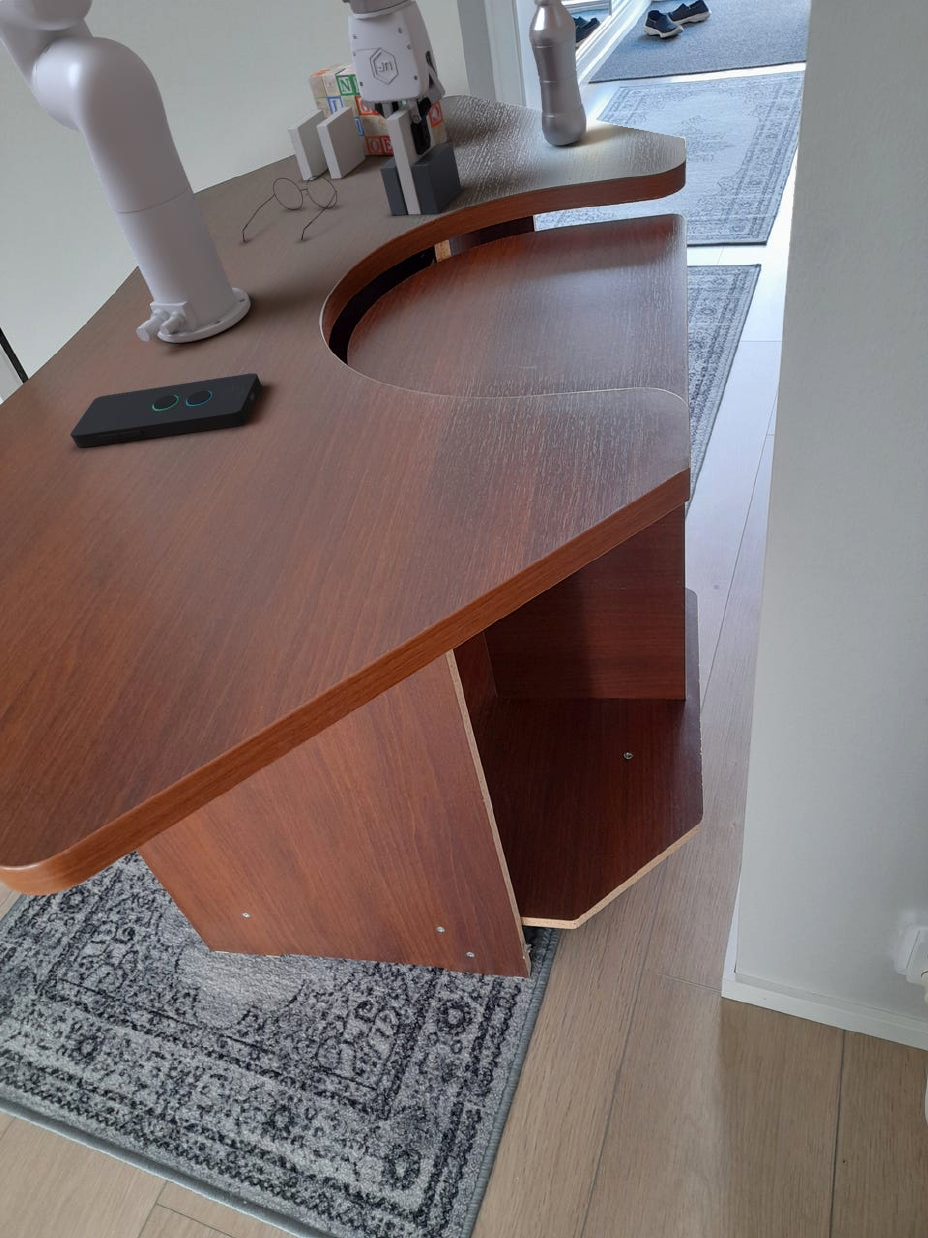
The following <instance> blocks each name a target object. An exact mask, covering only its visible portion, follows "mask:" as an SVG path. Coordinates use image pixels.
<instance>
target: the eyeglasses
mask: <svg viewBox="0 0 928 1238" xmlns="http://www.w3.org/2000/svg"><path fill="white" fill-rule="evenodd" d="M312 177H315V176H312ZM312 177H310V178H312ZM318 177H319V178H322V179H324V180H325V181H327V182H328V183H329V184H330V185H331V186H332V188H333V190H334V194H333V195H332V198H331V200H329V201H330V202H329V203H328V204H327V205H326V206H325V207H324V206H322V205H320V204H318V203H317V202H315V201H314V200H313V198H312V197H311V195H310V193H309V190H308V188H302V189H300V188H299V186H298V185H297V184H296V183H295V182H294V181H292V180H290V179H289V178H286V177H279V178H277V179H276V180H275V181H274V182H273V185H272V189H273V195H272V196H271V197H270V198H269V199H268V200H266V201H265V202H264V203H263V204H262V205H261V206H260V207H259V208H258V209H257V210H256V212H255V213H254V214H253V215H252V217H251V218H250V219H249V221H248V222H247V223H246V224H245V226H244V228H243V229H242V241H243V242H244V243H246V240H245V239H246V238H245V232H244V231H245V230H246V228H247V227H248V225H249V224H250V222H251V221H252V220H253V218H254V217H255V216H256V215H257V213H258V212H259V210H261V209H262V207H264V205H265V204H267V203H268V202H269V201H270V200H272V198H273V197H274V196H275V199H276V200H277V202H279V203H281V201H280V200H279V199H278V197H277V195H276V192H275V185H276V182H277V181H278V180H282V179H283V180H287V181H290V182H291V183H292V184H294V186H295V187H296V188H297V189H298V190H299V192H300V196H301V198H302V199H301V200H302V202H301V205H300V206H299V207H298V208H295V209H294V208H289V207H287V206H286V205H284V204H283V203H281V205H282V206H283V207H284V208H285V209H288V210H291V211H298V210H299V209H300V208H302V206H303V204H304V197H303V193H302V191H307V193H305V196H309V198H310V199H311V201H312V202H313V204H316V205H317V206H318V207H320V208H322V210H321V211H320V213H319V214H317V215H316V216H315V218H313V219H312V220H311V221H310V222H309V223H308V224H307V225H306V226H305V227H304V228H303V231H302V233H301V238H300V240H301V241H303V239H304V234H305V230H306V229H307V228H308V227H309V226H310V225H312V224H313V222H314V221H315V220H316V219H318V217H319V216H320V215H321V214H322V213H323V212H324V211H325V210H326V209H328V208H329V209H332V208H334V207H335V206H336V204H337V202H338V191H337V190H336V188H335V187H334V185H333V184H332V183H331V181H329V179H328V178H325V177H324V176H322V175H319V176H318ZM318 177H317V178H318ZM310 178H309V179H310ZM309 179H308V180H306V184H308V183H309V181H310V180H309ZM335 195H336V200H335V203H334V204H333V206H330V204H331V203H332V201H333V199H334V197H335ZM329 206H330V207H329Z"/></svg>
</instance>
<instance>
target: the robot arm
mask: <svg viewBox="0 0 928 1238" xmlns="http://www.w3.org/2000/svg"><path fill="white" fill-rule="evenodd" d="M341 2H342V3H344V4H347V3H348V4H349V5H350V10H351V11H352V13H351V14H349V16H348V17H347V19H348V20H347V21H348V23H347V25H348V36H349V37H348V38H349V43H350V44H349V45H350V52H351V58H352V59H351V60H352V63H353V65H354V70H355V75H356V79H357V84H358V88H359V92H360V95H361V97H362V104H363V105H364V106H365V107H367V108H370V109H372V110H376V111H377V112H378V113H379V114H380V115H381V116H382V117H383V118H385V120H386V119H387V118H389V117H390V116H391V115H392V114H393V113H395V112H396V111H397V110H398V109H400V108H401V105H400V101H403V100H408V103H409V107H410V111H411V116H412V120H413V123H412V124H411V131H412V136H413V140H414V145H415V149H416V153H417V154H418V155H422V154H424V153H425V152H426V151H427V150H428V149H429V148H430V146H431V144H430V143H431V137H430V132H429V128H428V123H427V119H426V116H427V115H428V114H429V111H430V109H431V107H432V105H433V104H434V103H436V102H437V101H438V100H439V101H440V100H441V99H443V97H445V96H446V89H445V88H444V85H443V84H442V83H441V80H440V79H439V75H438V69H437V64H436V58H435V54H434V50H433V47H432V43H431V39H430V36H429V32H428V29H427V26H426V23H425V21H424V17H423V15H422V12H421V10H420V7H419V5H418V3H417V1H416V0H341ZM92 5H93V0H0V42H1V44H2V46H3V47H4V49H5V51H6V53H7V54H8V56H9V57H10V59H11V61H12V62H13V64H14V65H15V67H16V69H17V71H18V72H19V74H20V75H21V77H22V79H23V81H24V82H25V84H26V86H27V88H28V89H29V90H30V92H31V93H32V95H33V96H34V98H35V99H36V101H37V102H38V104H39V105H40V107H41V108H42V109H43V110H44V111H45V112H46V113H47V114H48V115H49V117H51V118H52V119H53V120H54V121H56V122H57V123H59V124H60V125H62V126H63V127H65V128H68V129H70V130H73V131H75V132H79V133H81V134H82V136H83V138H84V142H85V143H86V147H87V149H88V150H87V151H88V153H89V156H90V160H91V163H92V165H93V169H94V171H95V172H94V173H95V175H96V176H97V179H98V182H99V185H100V186H101V189H102V191H103V195H104V196H105V198H106V200H107V202H108V204H109V207H110V209H111V211H112V212H113V215H114V217H115V219H116V221H117V223H118V225H119V228H120V230H121V232H122V234H123V235H124V238H125V240H126V242H127V245H128V247H129V248H130V251H131V252H132V255H133V257H134V259H135V261H136V264H137V266H138V268H139V270H140V272H141V274H142V276H143V278H144V281H145V283H146V285H147V287H148V289H149V291H150V293H151V296H152V298H153V301H152V302H151V303H150V304H149V306H150V309H151V311H152V312H151V314H150V317H149V319H148V320H146V321H145V322H143V323H142V324H141V325H140V326H138V327H137V328H136V335H137V337H138V338H139V340H140V341H143V343H148V342H150V341H152V340H153V339H154V338H155V337H156V336H157V337H158V338H159V339H160V340H162V341H164V342H167V343H173V344H176V343H177V344H178V343H179V344H180V343H181V344H182V343H190V342H195V341H200V340H203V339H206V338H209V337H212V336H214V335H217V334H219V333H221V332H223V331H226V330H227V329H229V328H231V327H233V326H235V325H236V324H237V323H238V322H240V321H241V320H242V319H243V318H245V316H246V315H247V313H248V312H249V310H250V308H251V301H250V297H249V294H248V293H247V292H246V291H245V290H243V289H241V288H237V287H232V285H231V283H230V280H229V277H228V275H227V273H226V271H225V268H224V265H223V263H222V260H221V258H220V255H219V252H218V250H217V248H216V245H215V243H214V240H213V238H212V235H211V232H210V230H209V227H208V225H207V223H206V220H205V218H204V215H203V213H202V211H201V208H200V206H199V203H198V201H197V197H196V196H195V193H194V190H193V188H192V185H191V183H190V181H189V179H188V176H187V173H186V171H185V169H184V165H183V163H182V160H181V158H180V156H179V153H178V150H177V146H176V145H175V141H174V138H173V135H172V132H171V128H170V124H169V121H168V116H167V112H166V109H165V105H164V101H163V97H162V95H161V91H160V89H159V86H158V83H157V81H156V79H155V77H154V75H153V73H152V71H151V70H150V68H149V66H148V65H147V64H146V63H145V62H144V60H143V59H142V58H141V57H140V56H139V55H138V54H137V53H136V52H134V51H133V50H132V49H131V48H129V47H128V46H127V45H125V44H123V43H121V42H119V41H117V40H114V39H111V38H107V37H100V36H93V34H92V31H91V29H90V28H89V27H88V24H87V22H86V21H85V18H86V17H87V16H88V14H89V13H90V10H91V8H92ZM428 89H429V90H430V94H429V95H427V96H425V93H426V91H427V90H428Z"/></svg>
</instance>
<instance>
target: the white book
mask: <svg viewBox="0 0 928 1238" xmlns="http://www.w3.org/2000/svg"><path fill="white" fill-rule="evenodd" d="M426 119H427V123H428V128H429V132H430V137H431V143H430V144H431V146H430V148H429V149H428V150H427V151H426V152H425V153H424V154H422V155H418V154H417V153H416V149H415V145H414V140H413V136H412V131H411V124H412V123H413V120H412V116H411V111H410V107H409V103H408V102H407V103H406V104H405V105H403V106H402V107H401V108H400V109H398V110H397V111H396V112H395V113H393V114H392V115H391V116H390V117H389V118H387V119H386V123H387V127H388V131H389V135H390V140H391V144H392V148H393V152H394V155H393V156H395V160H396V164H397V168H398V172H399V176H400V181H401V185H402V189H403V193H404V197H405V201H406V205H407V209H408V213H407V214H408V215H412V216H413V215H422V214H423V210H422V206H421V202H420V197H419V193H418V189H417V184H416V180H415V176H414V172H413V167H412V166H413V165H414V164H415V163H416V162H417V161H419V160H420V159H421V158H422V157H423V156H424V155H425V154H426V153H427V152H428V151H430V150H431V149H432V148H433V147H434V146H435V143H434V138H433V134H432V129H431V124H430V120H429V115H427V116H426Z"/></svg>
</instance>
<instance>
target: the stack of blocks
mask: <svg viewBox="0 0 928 1238" xmlns="http://www.w3.org/2000/svg"><path fill="white" fill-rule="evenodd" d="M307 79H308V83H309V86H310V89H311V92H312V95H313V100H314V103H315V107H316V110H323V112H324V116H325V119H327V118H328V117H329V116H331V115H332V114H333V113H335V112H336V111H338V110H339V109H340V108H342V107H352V110H353V114H354V118H355V122H356V125H357V129H358V133H359V137H360V140H361V144H362V148H363V152H364V155H365V156H389V155H390V156H394V152H393V148H392V144H391V140H390V135H389V131H388V127H387V123H386V120H385V118H383V117H382V116H381V115H380V114H379V113H378V112H377V111H376V110H372V109H370V108H367V107H365V106H364V105H363V104H362V97H361V95H360V92H359V88H358V84H357V79H356V75H355V70H354V65H353V62H345V63H331V64H329V65H328V66H326V67H324V68H322V69H320V70H319V71H317V72H315V73H314V74H312V75H310V76H309V77H307ZM429 94H430V90H429V89H428V90H427V91H426V93H425V96H427V95H429ZM407 102H408V100H403V101H400V105H401V107H402V106H403V105H405V104H406V103H407ZM428 115H429V120H430V124H431V129H432V134H433V138H434V143H435V145H436V144H437V143H447V141H448V137H447V131H446V127H445V122H444V116H443V111H442V106H441V102H440V100H438V101H437V102H436V103H434V104H433V105H432V107H431V109H430V111H429V114H428Z"/></svg>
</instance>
